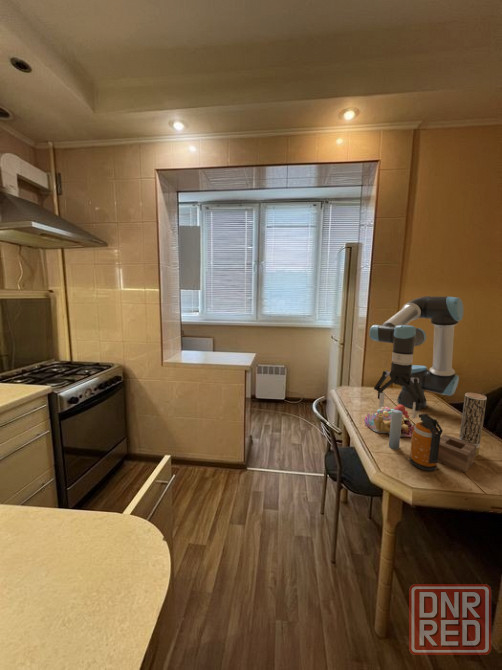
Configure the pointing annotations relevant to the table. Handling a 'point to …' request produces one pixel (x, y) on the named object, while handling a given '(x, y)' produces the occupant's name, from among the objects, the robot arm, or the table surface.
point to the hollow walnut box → (456, 452)
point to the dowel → (395, 429)
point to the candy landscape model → (389, 421)
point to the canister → (425, 443)
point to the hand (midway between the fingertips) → (396, 412)
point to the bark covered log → (473, 419)
